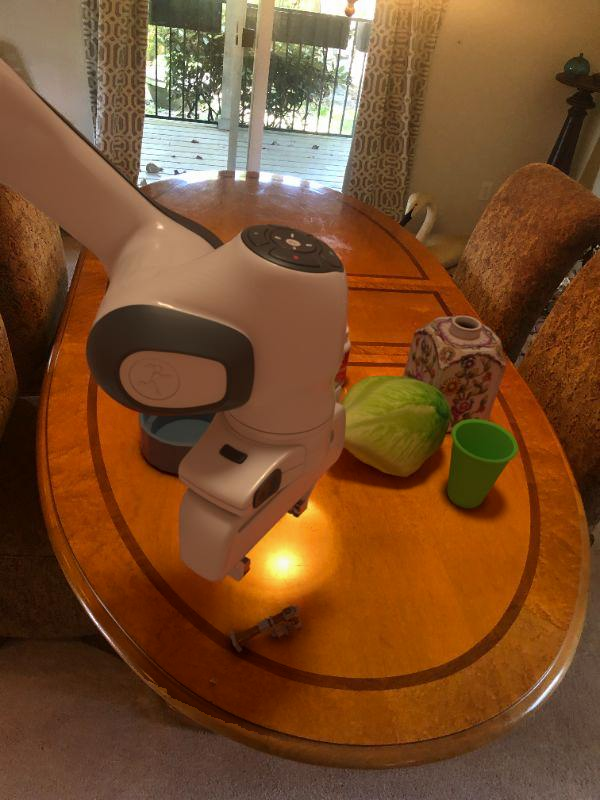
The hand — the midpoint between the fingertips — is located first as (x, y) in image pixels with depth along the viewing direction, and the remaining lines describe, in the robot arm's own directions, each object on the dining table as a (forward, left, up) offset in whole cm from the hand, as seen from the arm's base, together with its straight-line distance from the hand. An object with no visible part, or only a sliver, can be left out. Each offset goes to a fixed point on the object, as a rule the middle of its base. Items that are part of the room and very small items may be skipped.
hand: (268, 540), depth 58 cm
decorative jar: (+54, +1, -17) cm, 57 cm away
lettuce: (+37, +4, -17) cm, 41 cm away
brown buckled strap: (+1, 0, -17) cm, 17 cm away
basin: (+20, +28, -17) cm, 38 cm away
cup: (+37, -10, -17) cm, 42 cm away
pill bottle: (+49, +21, -17) cm, 56 cm away
